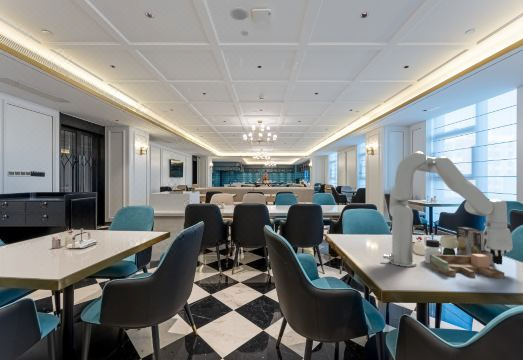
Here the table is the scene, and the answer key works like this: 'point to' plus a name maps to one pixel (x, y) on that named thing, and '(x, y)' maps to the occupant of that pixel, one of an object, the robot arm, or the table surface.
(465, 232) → the coffee box
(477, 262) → the block
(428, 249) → the medicine bottle
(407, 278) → the table surface
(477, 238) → the coffee box
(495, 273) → the trap box
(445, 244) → the character mug
